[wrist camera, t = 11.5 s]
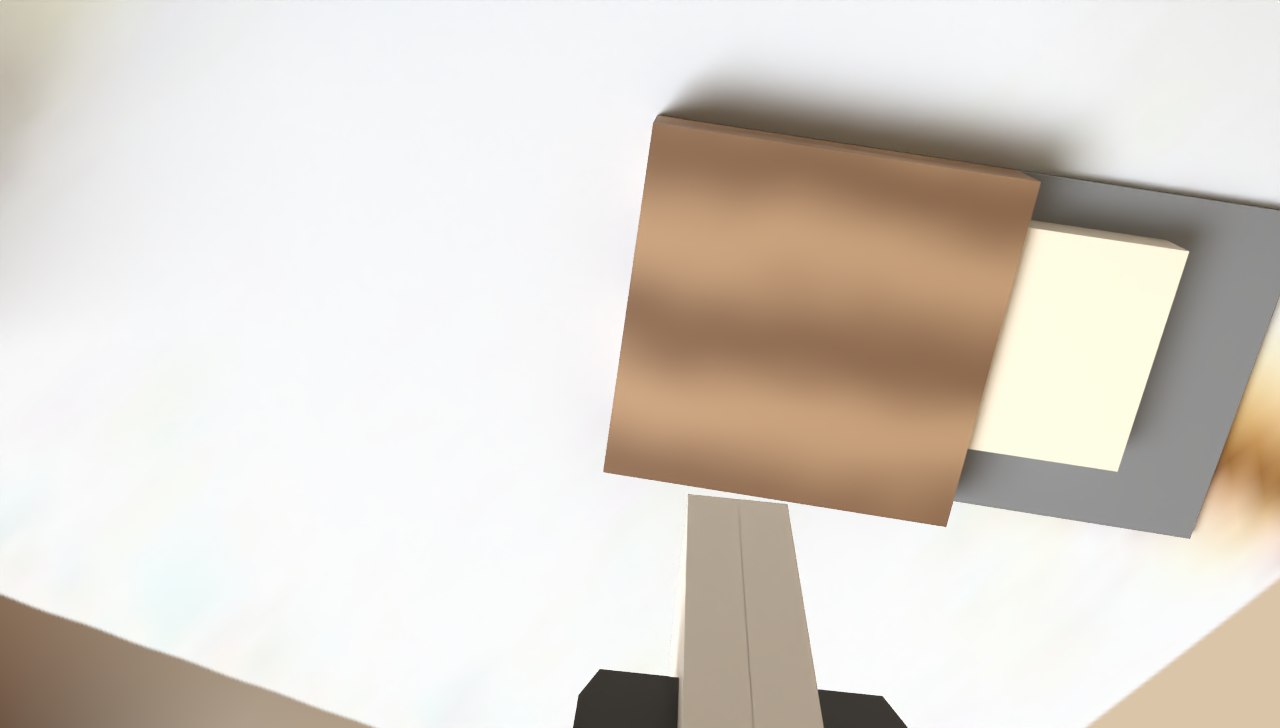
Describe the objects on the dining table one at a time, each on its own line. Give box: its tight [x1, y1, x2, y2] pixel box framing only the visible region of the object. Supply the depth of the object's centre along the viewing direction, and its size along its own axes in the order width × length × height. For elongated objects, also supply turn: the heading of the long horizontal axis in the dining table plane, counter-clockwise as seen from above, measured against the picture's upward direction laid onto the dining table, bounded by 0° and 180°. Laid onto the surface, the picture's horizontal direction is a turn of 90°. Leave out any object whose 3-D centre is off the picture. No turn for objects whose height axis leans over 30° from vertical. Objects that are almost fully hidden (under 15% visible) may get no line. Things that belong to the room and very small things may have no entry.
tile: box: [968, 220, 1189, 472], centre depth 39 cm, size 9×6×2 cm, turn 172°
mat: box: [953, 170, 1280, 539], centre depth 41 cm, size 14×11×1 cm
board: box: [603, 115, 1041, 527], centre depth 40 cm, size 14×14×3 cm
